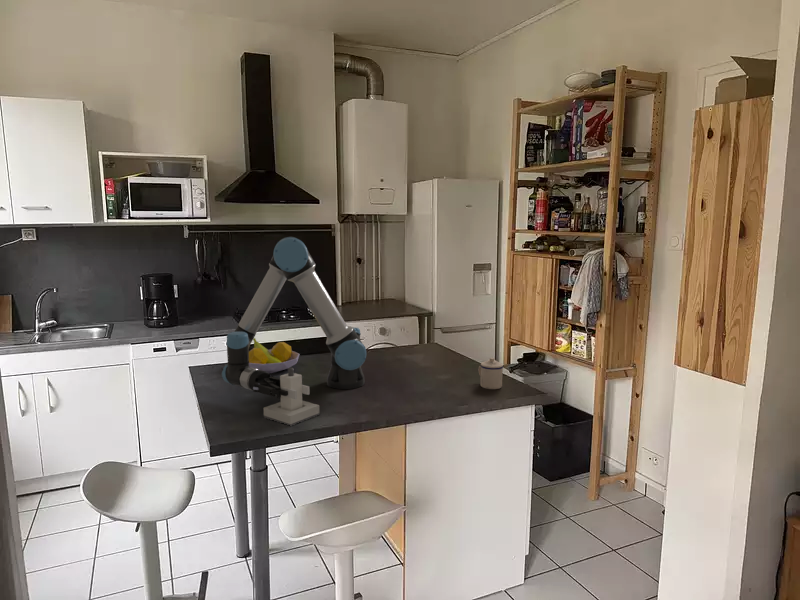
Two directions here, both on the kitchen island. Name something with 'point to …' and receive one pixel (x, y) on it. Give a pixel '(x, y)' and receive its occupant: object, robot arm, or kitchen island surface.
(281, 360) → the fruit bowl
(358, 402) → the kitchen island surface
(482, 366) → the teacup with lid
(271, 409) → the socket
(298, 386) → the plug
